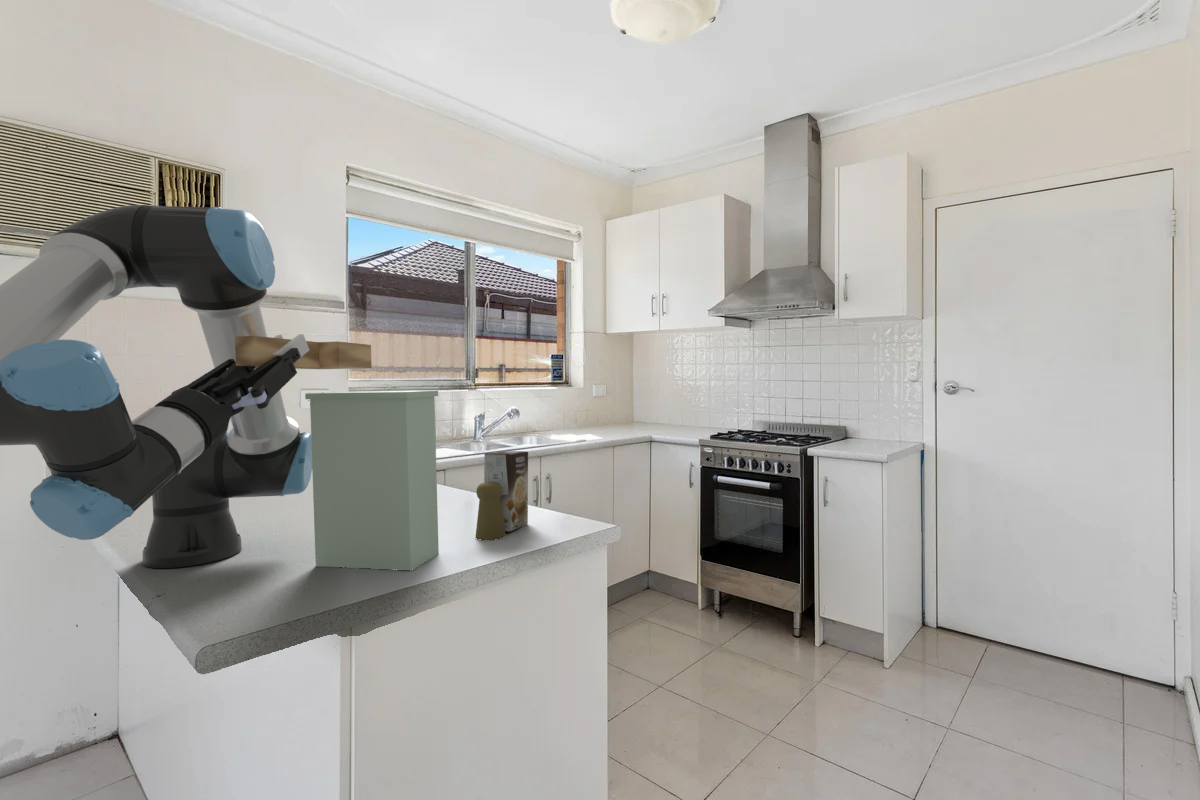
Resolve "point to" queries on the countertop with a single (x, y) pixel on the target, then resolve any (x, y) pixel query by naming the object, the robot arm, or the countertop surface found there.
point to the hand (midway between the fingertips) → (293, 342)
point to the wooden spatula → (317, 357)
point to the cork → (489, 512)
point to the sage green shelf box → (374, 478)
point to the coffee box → (510, 485)
